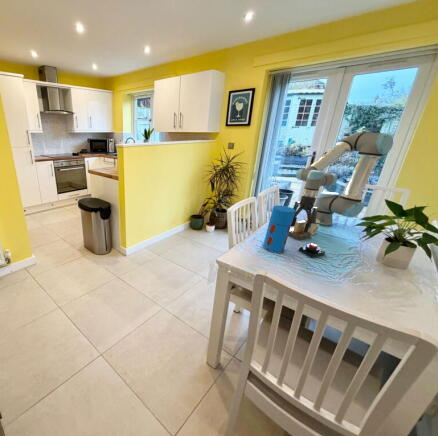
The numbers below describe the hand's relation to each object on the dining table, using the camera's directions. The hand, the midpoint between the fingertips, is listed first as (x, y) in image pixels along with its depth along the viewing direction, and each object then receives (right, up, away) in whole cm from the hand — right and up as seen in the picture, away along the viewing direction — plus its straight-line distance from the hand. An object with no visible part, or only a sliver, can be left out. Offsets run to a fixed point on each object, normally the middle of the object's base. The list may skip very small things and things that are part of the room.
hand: (298, 228), depth 148 cm
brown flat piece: (0, -4, +2) cm, 5 cm away
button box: (-6, -13, -19) cm, 24 cm away
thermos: (-25, -11, -15) cm, 31 cm away
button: (-6, -10, -20) cm, 23 cm away
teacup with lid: (+12, -2, +8) cm, 15 cm away
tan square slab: (0, -2, +1) cm, 2 cm away
